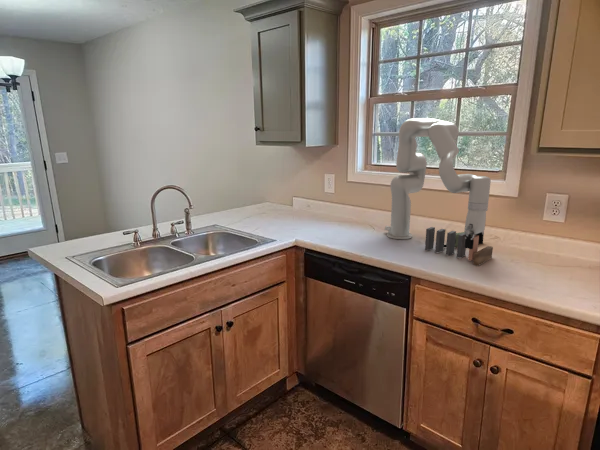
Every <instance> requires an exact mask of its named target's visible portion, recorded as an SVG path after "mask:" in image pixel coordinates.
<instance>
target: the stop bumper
mask: <svg viewBox="0 0 600 450" xmlns="http://www.w3.org/2000/svg"><path fill="white" fill-rule="evenodd" d="M493 249H494V246H490V245H487V246H485V247H483V248H482V249H479V250H477V252H476V253H474V260H473V264H472V265H473V266H476V267H477V266H478V267H479V266H481V265H482V264H484V263H486V262H487V261H489V260H490V259H492V257H493Z"/></svg>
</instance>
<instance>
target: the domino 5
mask: <svg viewBox="0 0 600 450" xmlns="http://www.w3.org/2000/svg"><path fill="white" fill-rule="evenodd" d="M473 240H474V243H473V249H468V256H467V257H468V258H467V260H468V261H471V262H472V261H474V253H476V252H477V251H479V250H478V249H479V244H478V241H479V236H478V235H474V238H473Z"/></svg>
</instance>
